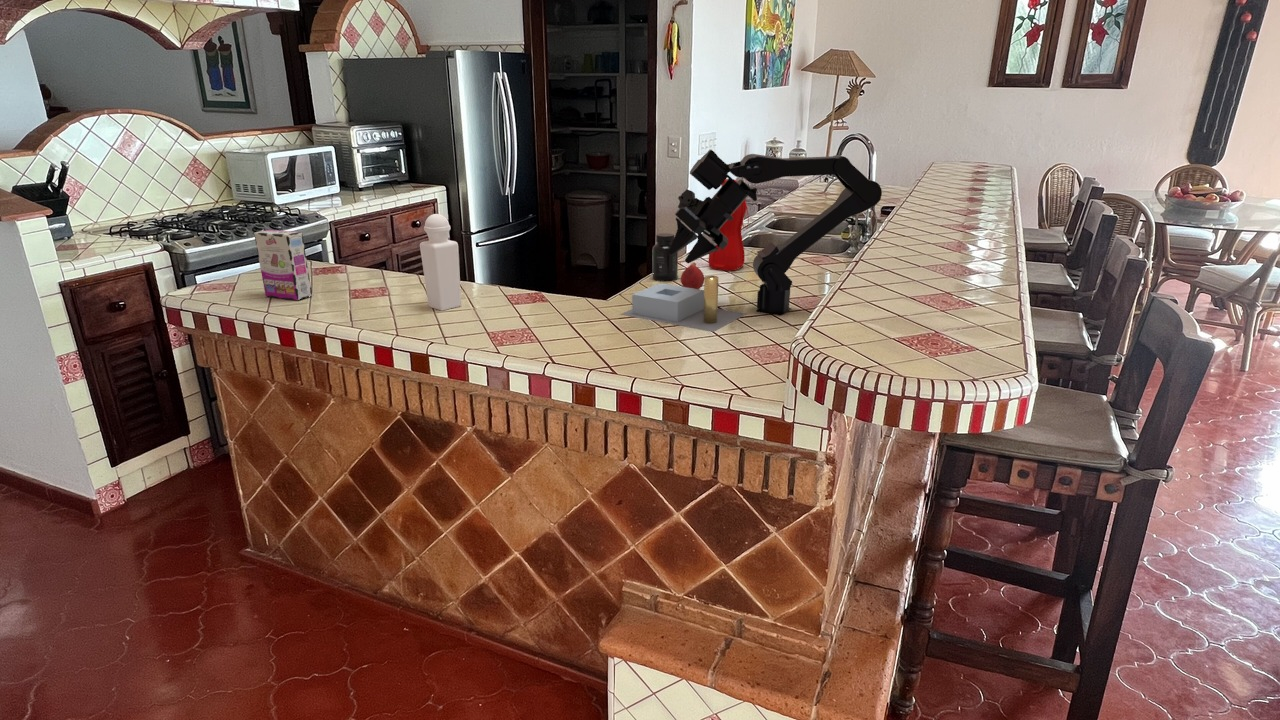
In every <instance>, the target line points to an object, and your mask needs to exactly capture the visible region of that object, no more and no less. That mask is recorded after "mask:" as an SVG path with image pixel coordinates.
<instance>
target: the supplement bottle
mask: <svg viewBox="0 0 1280 720" xmlns="http://www.w3.org/2000/svg"><path fill="white" fill-rule="evenodd" d="M655 236H656V238H655V242H656V244H654V245H653V246H652V279H653V280H655V281H657V280H658V282H673V281H676V280H677V279H678V273H679V271H678V270H679V269H678V267H679V251H678V252H676V253H675V254H673V255H671V254H670V253H669V252H668V251H669V249H670V247H671V244H672V242H673V240H674V237H675V234H674V233H668V232H667V233H664V232H663V233H657V234H656V235H655ZM653 273H654V274H653ZM672 280H673V281H672Z"/></svg>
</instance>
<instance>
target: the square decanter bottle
mask: <svg viewBox="0 0 1280 720" xmlns="http://www.w3.org/2000/svg"><path fill="white" fill-rule="evenodd" d="M423 231H424V232H425V233H426V236H427V237H428V240H425V241H422V242H420V243H419V250H420V256H421V261H422V262H421V263H422V269H423V276H424V283H425V290H426V296H427V302H428V307H429V308H432V309H435V310H438V311H442V312H444V311H447V310H450V309H451V308H452V309H456V308H459V306H460V307H461V306H462V297H461V295H462V293H461V277H460V275H461V274H460V254H459V244H458V242H457V241H456V240H450V239H449V233H450V231H451V225H450V223H449V221H448V219H447V217H446V216H444V215H442V214H440V213H434V214H430V215H429V216H428V217H427V218H426V220H425V222H424V226H423ZM455 307H456V308H455Z"/></svg>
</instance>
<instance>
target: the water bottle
mask: <svg viewBox="0 0 1280 720" xmlns="http://www.w3.org/2000/svg"><path fill="white" fill-rule="evenodd" d="M732 179H733V178H732ZM727 180H728V178H726V180H725V181H724V182H723V183H722V185H721V186H720V188H721V187H722V186H723V184H724V183H725V182H726V181H727ZM733 180H734V181H736V182H737V181H738V180H737V179H733ZM716 197H717V196H716ZM731 210H732V209H731ZM748 210H749V209H748V206H747V201H746V199H745V200H744V201H743V202H742V204H741V205H740V206H739V207H738V208H737V209H736V211H735V212H734V213H733V214H732V215H731V216H732V217H733V219H732V220H731V221H730V220H727V221H726V222H725V223H724V225H723V226H722V227H721V228H720V229H719V230H720V231H721V233H723V234H724V235H725V236H726V237H727V238H728V244H727V245H726V247H725V248H724V249H723V250H722V249H721V248H719V247H718V246H717V245H716V247H717V248H718V249H719V251H715V252H712V253H710V254H708V260H707V261H708V262H707V263H708V267H709V268H711V269H713V270H719V271H726V272H727V271H728V272H730V271H731V272H732V271H736V270H738V269H741V268H742V267H743V266H744V265H745V261H746V260H745V258H746V257H745V248H744V242H743V235H742V228H743V229H747V228H748V227H749V223H750V222H749V221H750V219H749V216H747V227H745V226H744V219H745V216H746V214H747V215H749V211H748ZM732 211H733V210H732ZM746 212H747V213H746Z"/></svg>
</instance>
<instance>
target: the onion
mask: <svg viewBox="0 0 1280 720" xmlns="http://www.w3.org/2000/svg"><path fill="white" fill-rule="evenodd" d="M704 278H705V275H704V273H703V271H702V269H700V268H699V267H697V263H696V262H695V261H693V262H691V263H690V265H689V266H687V267H686V268H685V269H684V270H683V271H682V273H681V277H680V284H681V285H682V286H681V287H687V288H693V289H700V290H701V288H702V287H703V285H704Z"/></svg>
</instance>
